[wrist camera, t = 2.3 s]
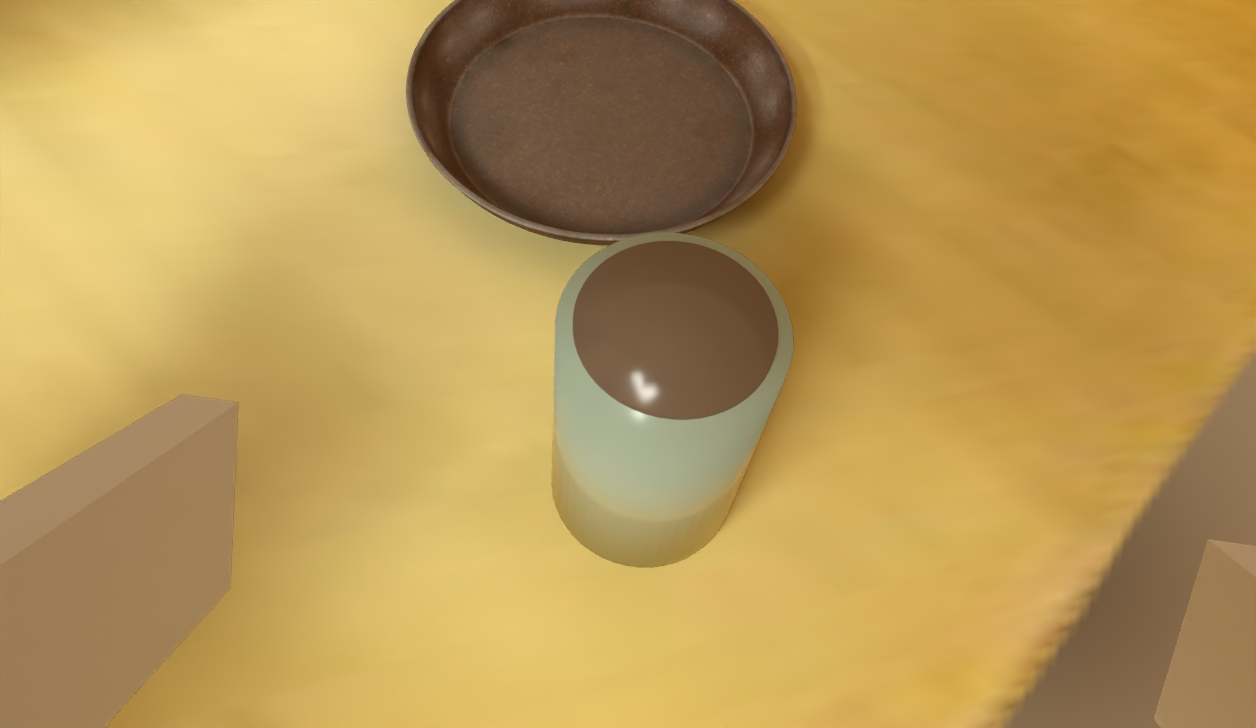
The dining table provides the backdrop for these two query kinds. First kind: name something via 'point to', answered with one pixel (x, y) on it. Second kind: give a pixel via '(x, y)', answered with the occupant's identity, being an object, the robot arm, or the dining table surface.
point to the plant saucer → (602, 111)
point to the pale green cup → (661, 392)
